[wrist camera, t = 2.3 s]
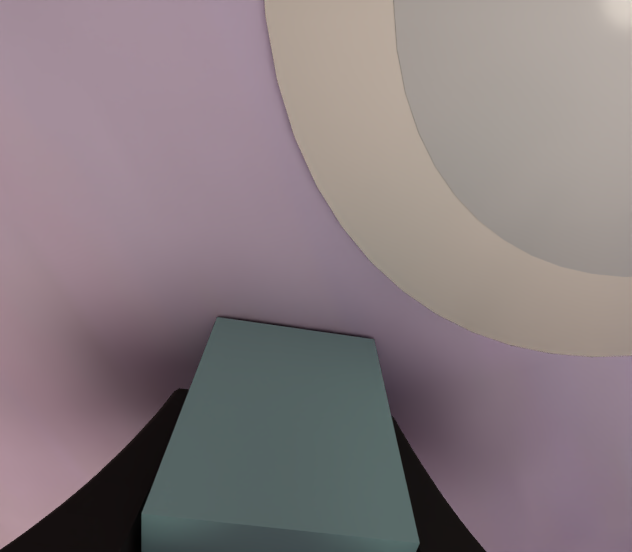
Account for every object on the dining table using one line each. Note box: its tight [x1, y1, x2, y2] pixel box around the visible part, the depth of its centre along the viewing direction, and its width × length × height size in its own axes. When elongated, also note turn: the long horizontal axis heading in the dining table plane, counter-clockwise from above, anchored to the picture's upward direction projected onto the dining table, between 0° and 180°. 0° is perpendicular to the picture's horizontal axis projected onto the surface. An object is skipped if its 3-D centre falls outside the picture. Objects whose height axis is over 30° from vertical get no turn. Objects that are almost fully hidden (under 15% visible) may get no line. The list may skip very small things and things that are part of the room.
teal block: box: [141, 317, 420, 552], centre depth 11 cm, size 4×4×6 cm
